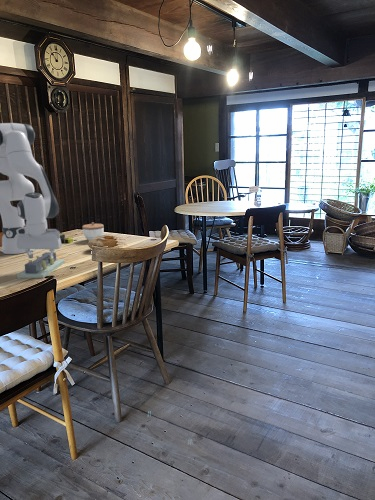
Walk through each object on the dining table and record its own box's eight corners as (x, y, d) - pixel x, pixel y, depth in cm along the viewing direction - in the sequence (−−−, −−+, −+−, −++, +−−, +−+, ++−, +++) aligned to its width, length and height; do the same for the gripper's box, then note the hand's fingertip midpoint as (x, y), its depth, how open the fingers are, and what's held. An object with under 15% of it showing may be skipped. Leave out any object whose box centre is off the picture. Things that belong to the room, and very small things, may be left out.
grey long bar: (46, 260, 198) (45, 252, 197) (56, 260, 198) (55, 252, 197) (25, 273, 178) (24, 264, 177) (36, 273, 177) (35, 264, 176)
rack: (41, 262, 200) (40, 251, 199) (64, 262, 199) (63, 251, 198) (17, 277, 177) (15, 265, 176) (43, 277, 176) (41, 265, 175)
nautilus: (128, 246, 231) (126, 254, 217) (90, 245, 230) (85, 253, 216) (128, 232, 229) (126, 240, 215) (89, 232, 228) (85, 239, 213)
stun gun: (76, 233, 257) (52, 234, 256) (71, 239, 239) (45, 240, 237) (77, 237, 258) (53, 238, 257) (71, 244, 240) (45, 245, 238)
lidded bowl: (107, 237, 252) (105, 220, 249) (101, 242, 240) (99, 224, 237) (87, 237, 253) (86, 220, 251) (80, 242, 241) (78, 224, 239)
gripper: (62, 227, 186) (65, 256, 189) (19, 227, 188) (23, 256, 191) (56, 230, 180) (59, 260, 183) (12, 230, 182) (16, 259, 185)
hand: (40, 258), depth 187 cm, fingers open, 8 cm apart
